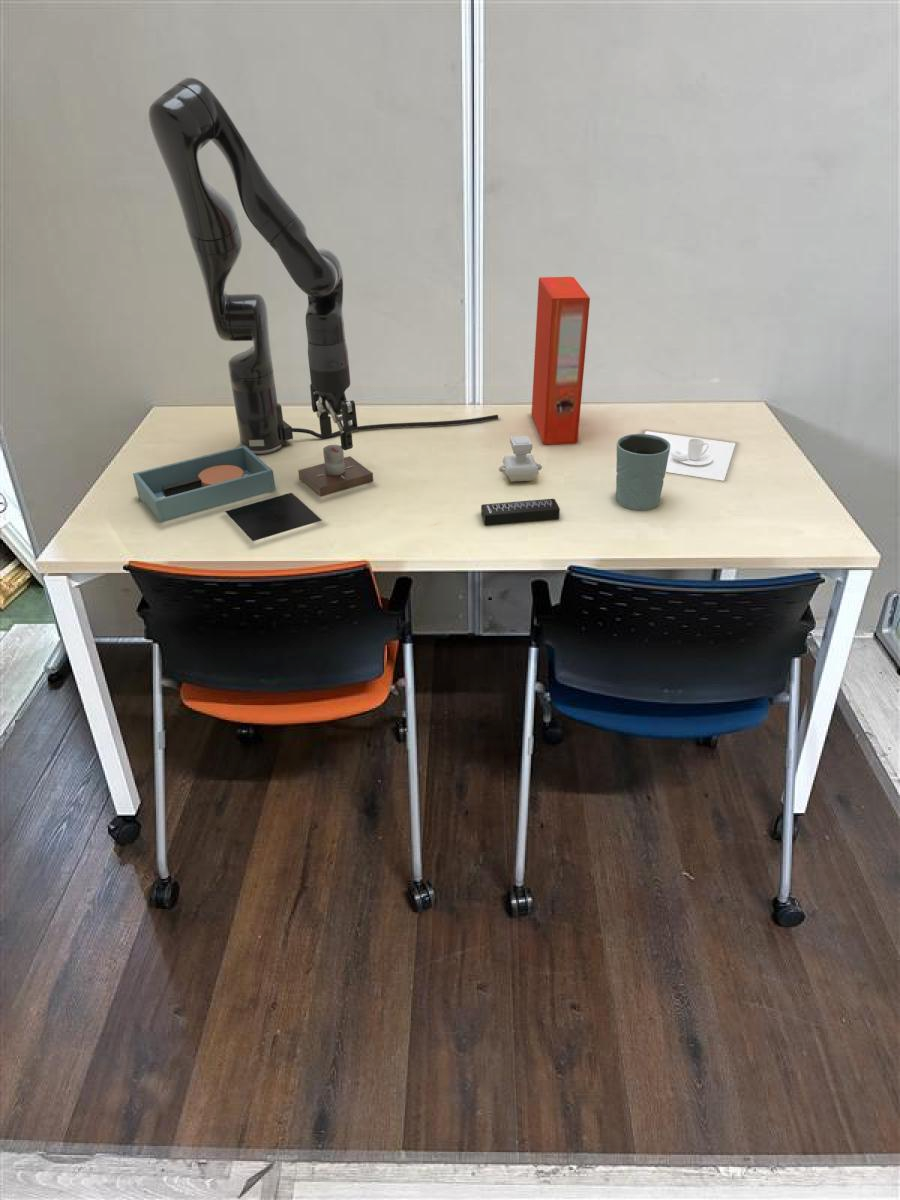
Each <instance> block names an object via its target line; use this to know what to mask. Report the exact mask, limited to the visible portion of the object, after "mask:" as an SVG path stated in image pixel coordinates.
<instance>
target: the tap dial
mask: <svg viewBox="0 0 900 1200" xmlns="http://www.w3.org/2000/svg"><path fill="white" fill-rule="evenodd" d="M322 451H323V463H325V472H326V474H328V475H332V476H336V475H341V474H343V473H344V472H345V464H344V458H345V455H344V450H343V449H342V448H341V444H330V445H326V446H324V447H323V449H322Z"/></svg>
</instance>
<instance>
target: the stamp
mask: <svg viewBox="0 0 900 1200" xmlns="http://www.w3.org/2000/svg"><path fill="white" fill-rule="evenodd" d="M509 443H510V446H511V449H512V453H513V455H504V456H503V458H502V463H503V464H502V465H500V466H499V467H498V472H499V473H502V474H503V473H504V474H505V475H506V476H507V478H508V479H509V480H510V482H526V481H527V482H529V481H530V482H531V481H533V480H534V479H535V478H536V477H537V476H538V475H539V474H540V473H539V472H540V471H541V470H542V469H543V465H542V463H538V462H536V461H535V457H534V455H533V454H531V453H532V450H533V442H532V440H531V438H530V436H529V435H519V436H509Z"/></svg>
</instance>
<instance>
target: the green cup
mask: <svg viewBox="0 0 900 1200" xmlns="http://www.w3.org/2000/svg"><path fill="white" fill-rule="evenodd" d="M669 452H670V443H669V442H668V441H667V440H665V439H663V438H661V437H658V436H654V435H649V434H645V433H633V434H627V435H624V436H621V437H620V438H619V439H617V442H616V477H615V478H616V481H615V502H616V503H617V504H618V505H619V506H620V507H623V508H625V509H629V510H631V511H649V510H653V509H655V508H656V507H658V506H659V504H660V502H661V496H662V492H663V487H664V482H665V481H664V480H665V477H666V473H667V472H666V467H667V462H668V457H669Z"/></svg>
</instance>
